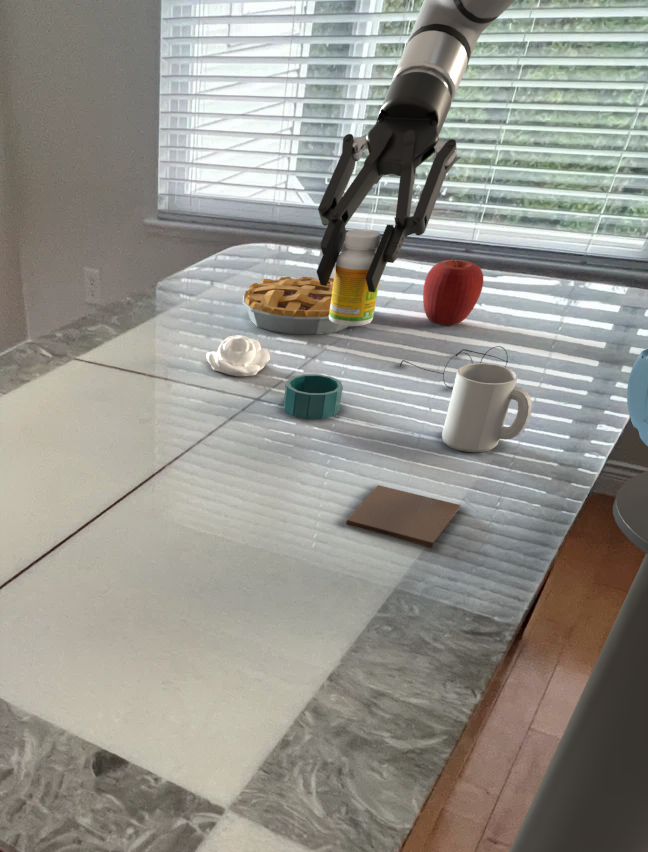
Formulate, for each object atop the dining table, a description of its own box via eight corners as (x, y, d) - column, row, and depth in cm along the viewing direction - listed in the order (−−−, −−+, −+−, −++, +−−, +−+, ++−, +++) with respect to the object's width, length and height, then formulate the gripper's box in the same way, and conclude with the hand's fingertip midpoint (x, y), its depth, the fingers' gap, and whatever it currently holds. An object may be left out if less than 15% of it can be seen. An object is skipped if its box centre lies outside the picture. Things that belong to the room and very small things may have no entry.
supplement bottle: (367, 329, 102) (382, 239, 96) (323, 324, 104) (335, 236, 98) (376, 316, 106) (391, 229, 100) (334, 312, 108) (345, 226, 101)
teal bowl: (346, 404, 122) (350, 380, 120) (325, 423, 118) (329, 398, 115) (297, 394, 126) (300, 370, 123) (274, 412, 121) (277, 388, 119)
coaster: (459, 509, 99) (460, 504, 98) (432, 547, 93) (433, 542, 92) (377, 489, 103) (377, 484, 102) (345, 524, 97) (346, 519, 96)
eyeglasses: (393, 366, 133) (400, 333, 129) (461, 355, 135) (469, 322, 132) (436, 392, 125) (445, 357, 121) (507, 379, 127) (517, 344, 124)
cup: (450, 426, 116) (466, 359, 110) (526, 441, 111) (547, 373, 105) (433, 445, 111) (449, 377, 105) (511, 462, 107) (533, 392, 101)
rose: (268, 326, 135) (275, 347, 128) (265, 354, 138) (272, 376, 131) (206, 327, 136) (209, 348, 129) (204, 356, 139) (208, 378, 132)
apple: (471, 315, 150) (486, 253, 143) (475, 333, 143) (491, 268, 136) (416, 313, 152) (428, 251, 145) (417, 330, 145) (430, 266, 138)
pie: (229, 332, 147) (231, 302, 143) (253, 296, 162) (255, 267, 159) (357, 342, 141) (362, 310, 138) (369, 303, 156) (374, 274, 153)
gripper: (501, 121, 98) (425, 310, 99) (351, 115, 106) (281, 290, 107) (502, 68, 91) (419, 272, 92) (341, 66, 99) (267, 253, 100)
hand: (345, 281), depth 99 cm, fingers closed on supplement bottle, 5 cm apart
